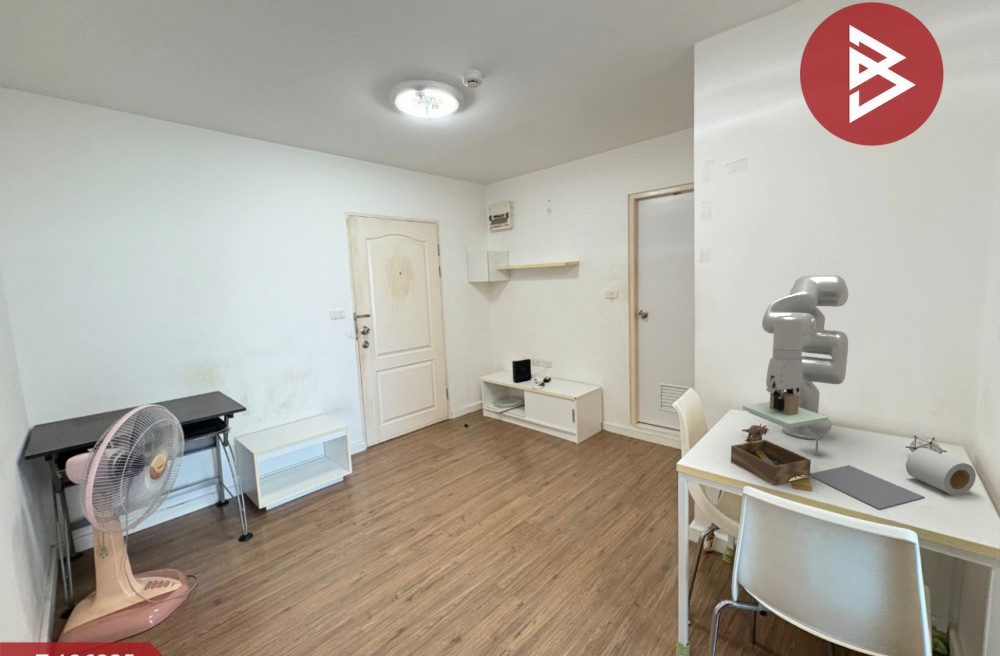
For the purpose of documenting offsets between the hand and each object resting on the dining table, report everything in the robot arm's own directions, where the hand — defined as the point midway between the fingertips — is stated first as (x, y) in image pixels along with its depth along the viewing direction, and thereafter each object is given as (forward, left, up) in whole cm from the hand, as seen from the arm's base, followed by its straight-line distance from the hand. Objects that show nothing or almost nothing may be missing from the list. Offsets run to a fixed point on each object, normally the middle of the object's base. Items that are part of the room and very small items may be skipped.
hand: (783, 408), depth 130 cm
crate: (+2, -2, -22) cm, 22 cm away
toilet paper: (-35, +22, -22) cm, 47 cm away
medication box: (+3, -3, -22) cm, 23 cm away
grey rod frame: (-51, +10, -22) cm, 56 cm away
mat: (-15, +15, -22) cm, 30 cm away
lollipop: (-23, -5, -22) cm, 32 cm away
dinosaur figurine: (-11, -19, -22) cm, 31 cm away
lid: (0, 0, -2) cm, 2 cm away
